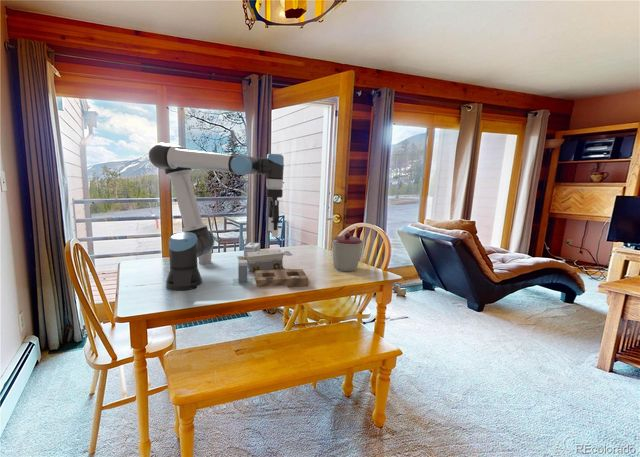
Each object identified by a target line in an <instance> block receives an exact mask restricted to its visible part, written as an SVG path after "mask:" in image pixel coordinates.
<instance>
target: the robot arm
mask: <svg viewBox="0 0 640 457" xmlns="http://www.w3.org/2000/svg"><path fill="white" fill-rule="evenodd" d="M148 159H149V162H150V163H151V164H152V165H153V166H154V167H155V168H157V169H159V170H164V173H165V176H166V177H167V178H169V179H170V181H171V184H172V188H173V192H174V194H175V198H176V202H177V205H178V209H179V213H180V216H181V220H182V223H183V226H184V227H183V229H182V232H178V233H174V234H172V235H171V236H170V237H169V238H168V254H169V272H168V274H167V277H166V281H165V285H166V286H165V287H166V288H167V289H169V290H172V291H189V290H194V289H196V288H197V287H198V286H199V285H201V284H202V282H203V279H202V278H203V277H202V276H201V273H200V270H199V267H198V266H199V265H198V264H199V261H198V257H199V256H201V255H203V254H206V253H207V252H209V251H210V250H211V249H212V250H213V247H214V246H215V240H216V239H215V236H214V234H213V232H212V231H210V230H209V227H208V225H207V224H206V223H204V222H203V219H202V215H201V211H200V209H199V205H198V202H197V197H196V194H195V191H194V187H193V183H192V180H191V176H190V175H191V173H192V169H195V170H204V171H211V172H212V171H213V172H221V173H229V174H231V173H232V174H236V175H240V176H241V175H243V176H245V175H264V176H265V175H266V181H265V182H266V183H265V184H266V189H265V190H266V191H265V196H266V197H267V198H269V200H268V201H269V204H268V213H267V215H268V228H267V229H268V231H269V232H271V238H278V237H279V222H280V209H279V208H280V207H279V205H280V200H279V198H282V197H283V187H284V186H283V184H285V181H284V168H285V167H284V166H285V162H284V155H283V154H279V153H268V154H267V155H266V157H259V156H257V157H255V156H245V155H238V154H236V155H235V154H230V153H229V154H227V153H218V152H208V151H200V150H192V149H191V150H190V149H188V148H187V147H185V146H184V145H181V144H176V143H174V144H173V143H167V142H166V143H165V142H159V143H155V144H153V145H152V146H151V147H150V148H149V151H148Z"/></svg>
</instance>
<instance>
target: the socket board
mask: <svg viewBox="0 0 640 457" xmlns="http://www.w3.org/2000/svg"><path fill="white" fill-rule="evenodd" d="M254 279H255V286H256V287H257V288H258V287H274V286H275V287H277V286H287V288H299V287H308V286H309V278H308V276H307V274H306V272H305V271H304V270H303V268H299V269H298V268H295V269H292V268H290V269H282V270H258V271H254Z"/></svg>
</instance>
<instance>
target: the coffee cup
mask: <svg viewBox="0 0 640 457" xmlns="http://www.w3.org/2000/svg"><path fill="white" fill-rule="evenodd" d="M212 251H213V248H212V249H211V250H210V251H209V252H207V253H206V254H203V255H201V256H199V257H197V260H198V264H200V265H208V264H211V263H212V253H213V252H212Z"/></svg>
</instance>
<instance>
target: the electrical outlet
mask: <svg viewBox="0 0 640 457" xmlns="http://www.w3.org/2000/svg"><path fill="white" fill-rule="evenodd" d="M284 256H290V257H291V256H293V253H291V250H290V251H289V250H285V251H282V250H281V249H280V248H277V249H268V250H260V251H256V252H247V256H244V255H239V256H236V258H237V259H238V260H247V270H248V272H250V273H253V272H255V271H258V270H284V268H283V267H284V262H283V259H284Z"/></svg>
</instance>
